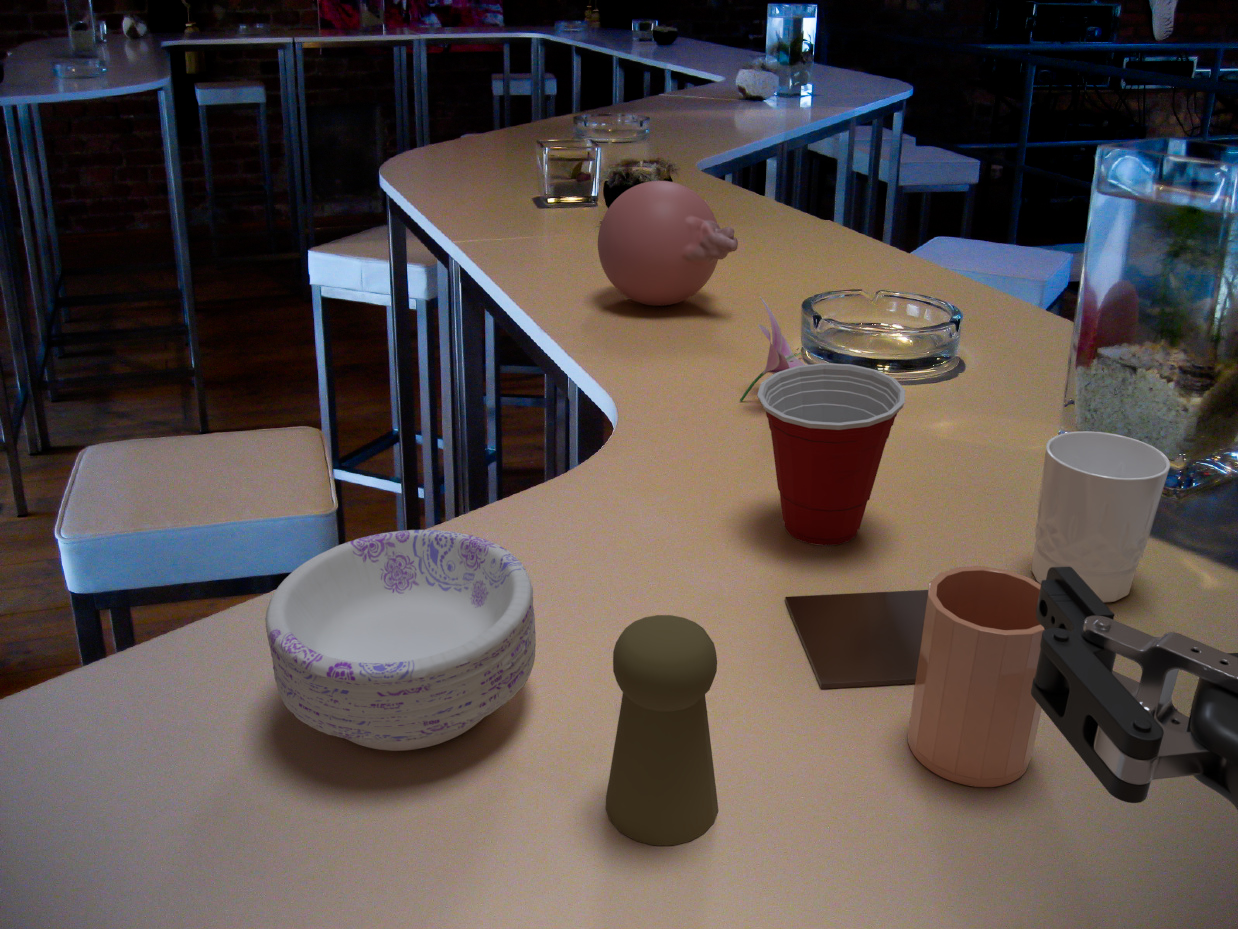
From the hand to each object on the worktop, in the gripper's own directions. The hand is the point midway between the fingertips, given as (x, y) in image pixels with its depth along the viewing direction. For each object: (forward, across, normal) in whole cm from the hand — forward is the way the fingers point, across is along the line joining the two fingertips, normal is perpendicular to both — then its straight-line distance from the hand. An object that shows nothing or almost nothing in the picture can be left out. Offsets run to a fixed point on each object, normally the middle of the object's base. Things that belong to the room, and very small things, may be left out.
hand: (1157, 581), depth 42 cm
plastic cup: (+39, +2, +19) cm, 43 cm away
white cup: (+30, -15, +19) cm, 38 cm away
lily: (+65, -1, +19) cm, 68 cm away
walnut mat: (+24, 0, +19) cm, 30 cm away
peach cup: (+13, 0, +19) cm, 23 cm away
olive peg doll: (+10, +18, +19) cm, 28 cm away
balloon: (+98, +6, +19) cm, 100 cm away
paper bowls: (+20, +32, +19) cm, 42 cm away
